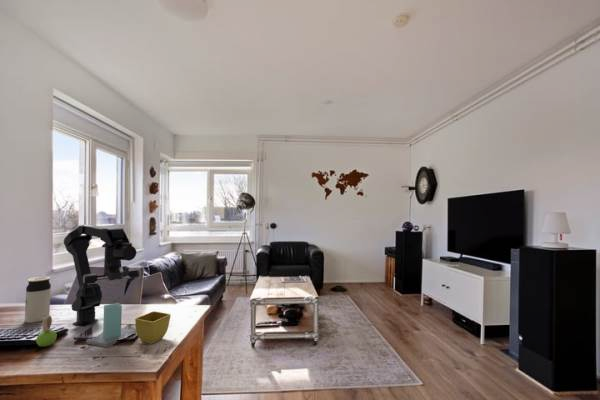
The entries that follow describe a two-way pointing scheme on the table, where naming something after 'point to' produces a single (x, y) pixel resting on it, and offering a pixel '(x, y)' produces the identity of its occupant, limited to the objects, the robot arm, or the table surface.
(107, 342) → the coaster
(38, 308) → the travel mug
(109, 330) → the block
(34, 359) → the table surface
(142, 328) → the flower pot
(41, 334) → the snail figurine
